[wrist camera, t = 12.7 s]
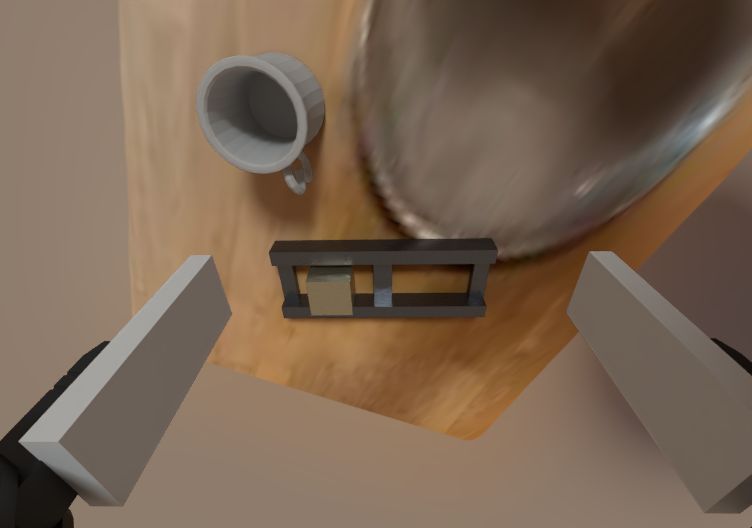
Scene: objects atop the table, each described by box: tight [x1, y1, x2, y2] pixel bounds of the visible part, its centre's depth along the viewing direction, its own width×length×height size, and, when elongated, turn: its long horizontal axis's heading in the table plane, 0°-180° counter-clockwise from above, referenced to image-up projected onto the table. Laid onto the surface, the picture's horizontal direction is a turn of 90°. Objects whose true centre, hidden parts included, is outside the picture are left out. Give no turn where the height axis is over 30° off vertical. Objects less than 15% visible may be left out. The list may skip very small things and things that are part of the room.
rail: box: [269, 238, 498, 318], centre depth 46 cm, size 11×28×3 cm, turn 91°
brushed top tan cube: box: [306, 265, 356, 315], centre depth 45 cm, size 6×6×6 cm
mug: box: [196, 52, 325, 195], centre depth 32 cm, size 12×9×10 cm
